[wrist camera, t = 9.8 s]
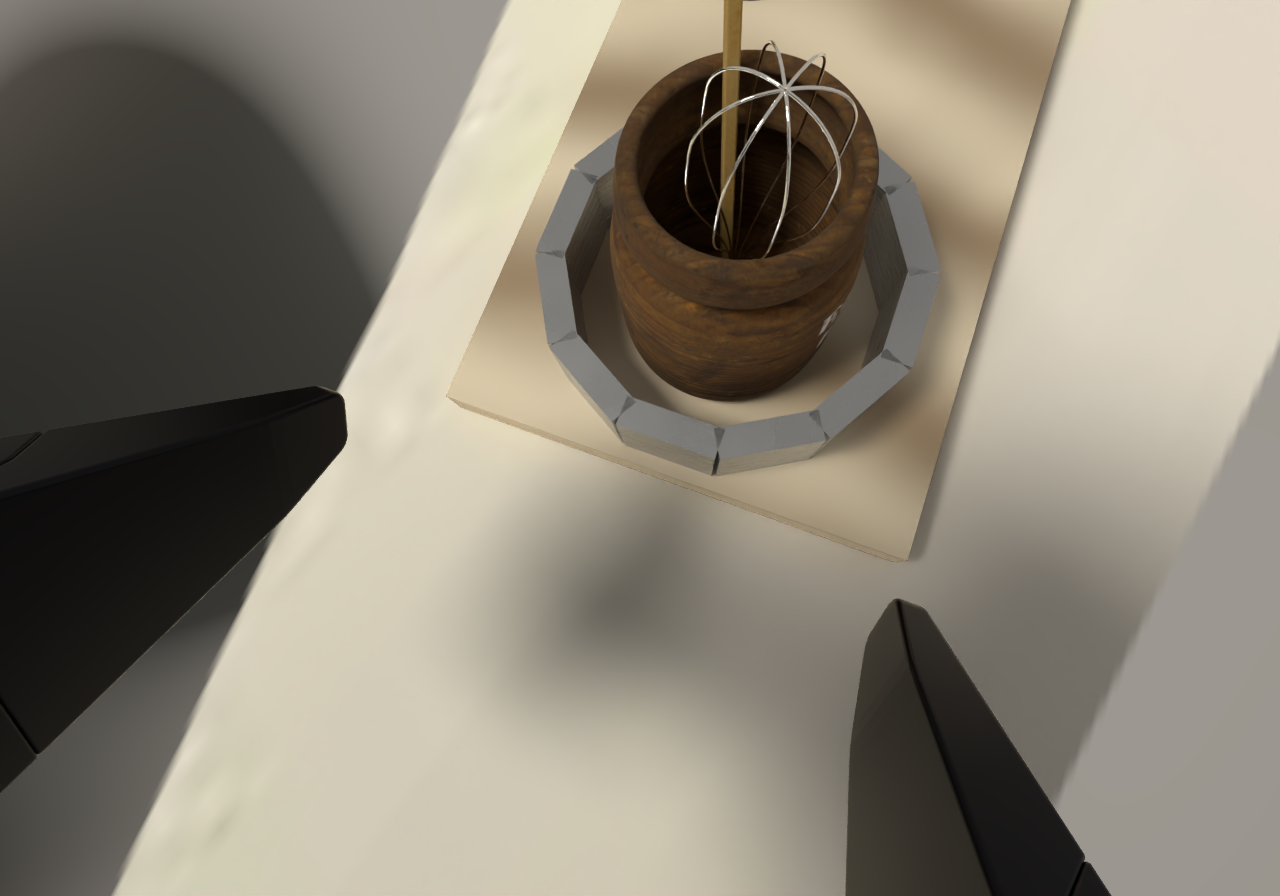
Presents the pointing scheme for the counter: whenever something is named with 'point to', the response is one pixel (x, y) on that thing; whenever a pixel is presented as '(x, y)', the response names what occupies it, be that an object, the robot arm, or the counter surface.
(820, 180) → the utensil holder
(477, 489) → the counter surface
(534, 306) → the wooden stand with ring
